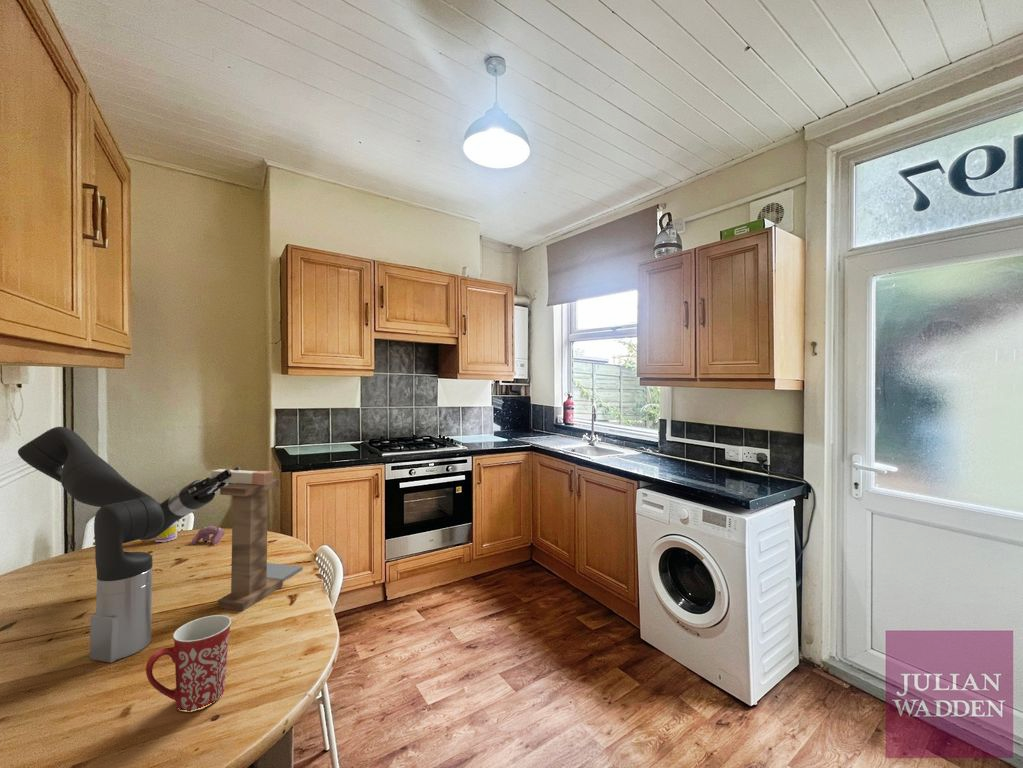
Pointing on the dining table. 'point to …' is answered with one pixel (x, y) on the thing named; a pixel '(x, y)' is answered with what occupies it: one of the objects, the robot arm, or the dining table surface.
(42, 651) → the dining table surface
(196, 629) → the mug
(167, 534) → the supplement bottle
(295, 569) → the board
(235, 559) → the stand
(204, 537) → the video game controller
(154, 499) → the robot arm
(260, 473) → the block
